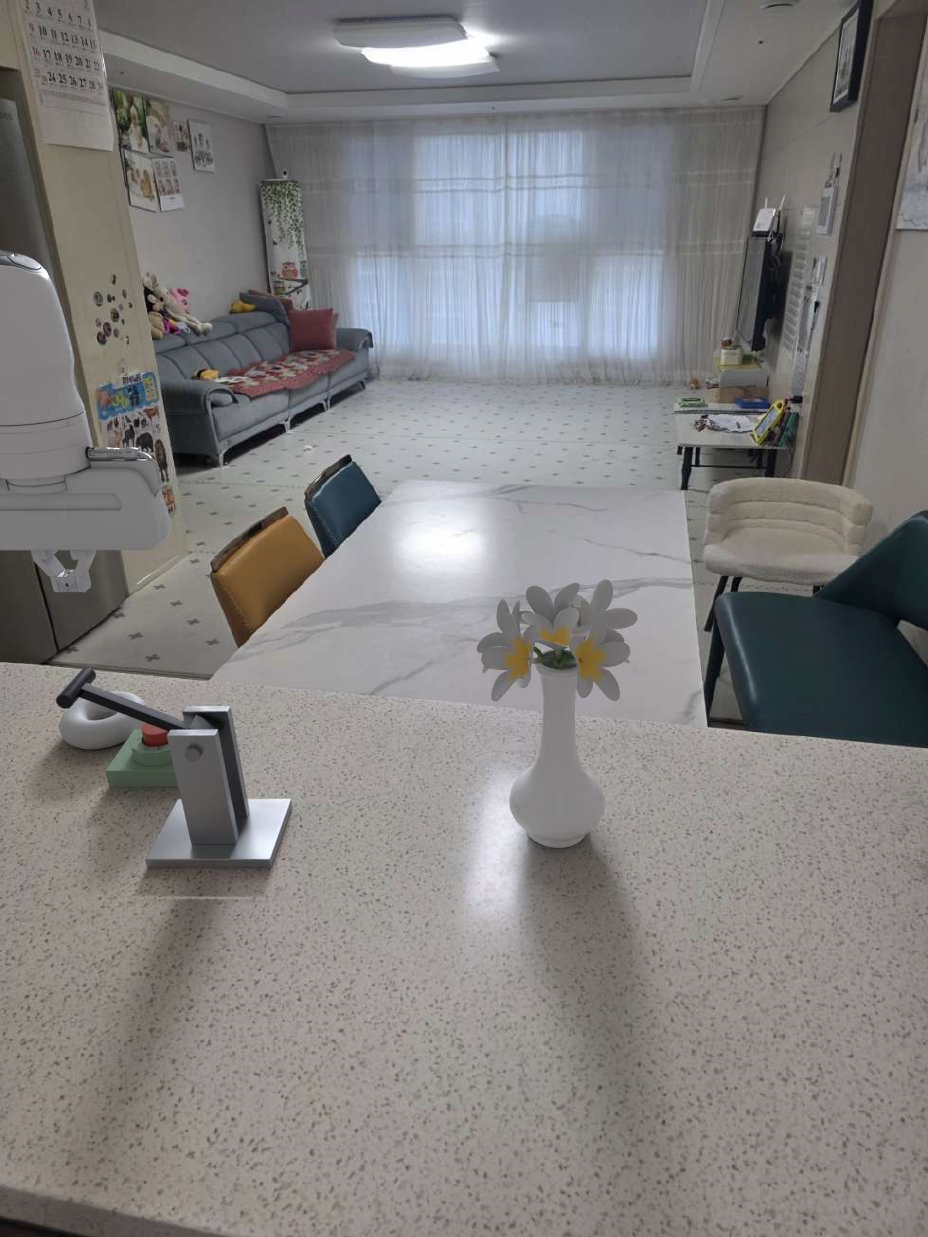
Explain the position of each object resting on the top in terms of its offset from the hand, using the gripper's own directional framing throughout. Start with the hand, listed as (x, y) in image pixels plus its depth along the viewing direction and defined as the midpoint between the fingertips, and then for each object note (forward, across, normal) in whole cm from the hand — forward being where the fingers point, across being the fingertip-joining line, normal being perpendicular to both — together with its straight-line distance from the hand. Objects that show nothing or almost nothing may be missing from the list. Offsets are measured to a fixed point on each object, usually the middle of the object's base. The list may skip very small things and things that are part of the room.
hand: (73, 590), depth 79 cm
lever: (+10, -8, +8) cm, 15 cm away
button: (+20, -4, -4) cm, 21 cm away
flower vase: (+23, -46, +6) cm, 52 cm away
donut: (+24, +6, -11) cm, 27 cm away
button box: (+24, -4, -4) cm, 24 cm away
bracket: (+24, -14, +8) cm, 28 cm away
